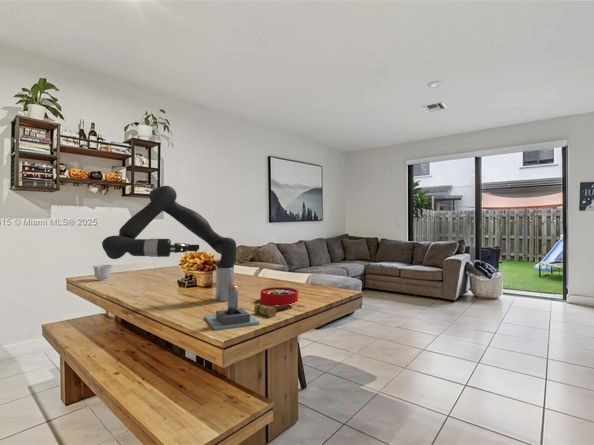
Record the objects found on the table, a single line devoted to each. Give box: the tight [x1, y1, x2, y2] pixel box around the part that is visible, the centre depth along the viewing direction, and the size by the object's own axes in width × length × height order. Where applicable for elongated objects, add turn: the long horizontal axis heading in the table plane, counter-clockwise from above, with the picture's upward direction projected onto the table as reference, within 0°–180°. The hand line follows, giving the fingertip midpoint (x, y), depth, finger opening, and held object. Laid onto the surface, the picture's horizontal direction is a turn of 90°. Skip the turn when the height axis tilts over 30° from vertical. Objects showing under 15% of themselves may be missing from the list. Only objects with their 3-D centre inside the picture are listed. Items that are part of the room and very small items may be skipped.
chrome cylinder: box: [227, 284, 239, 315], centre depth 132 cm, size 4×4×14 cm
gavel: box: [253, 303, 293, 318], centre depth 151 cm, size 21×5×10 cm
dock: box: [204, 307, 260, 331], centre depth 134 cm, size 18×18×4 cm
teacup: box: [92, 264, 113, 282], centre depth 223 cm, size 12×15×10 cm
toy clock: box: [259, 286, 299, 306], centre depth 171 cm, size 20×6×20 cm
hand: (198, 247), depth 137 cm, fingers open, 8 cm apart
